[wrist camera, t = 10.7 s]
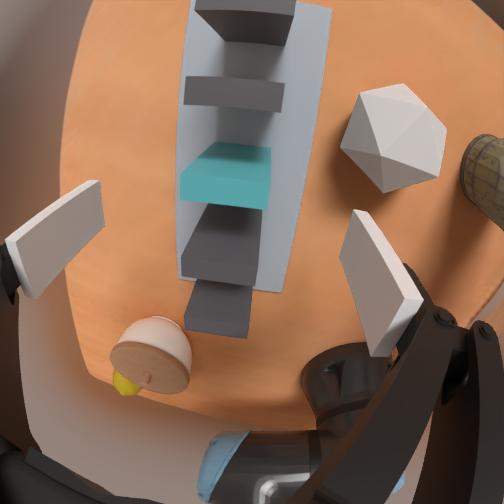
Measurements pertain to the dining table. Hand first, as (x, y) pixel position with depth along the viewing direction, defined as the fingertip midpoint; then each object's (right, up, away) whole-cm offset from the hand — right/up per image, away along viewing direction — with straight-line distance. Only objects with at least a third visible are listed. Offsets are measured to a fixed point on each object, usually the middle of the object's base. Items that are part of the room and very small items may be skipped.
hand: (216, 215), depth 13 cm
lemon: (-18, -20, +29) cm, 39 cm away
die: (+13, +9, +8) cm, 18 cm away
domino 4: (0, -2, +16) cm, 16 cm away
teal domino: (+1, +7, +10) cm, 12 cm away
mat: (+1, +7, +10) cm, 13 cm away
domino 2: (+1, +11, +7) cm, 14 cm away
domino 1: (+2, +16, +4) cm, 17 cm away
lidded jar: (-11, -13, +24) cm, 30 cm away
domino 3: (0, +2, +13) cm, 13 cm away
